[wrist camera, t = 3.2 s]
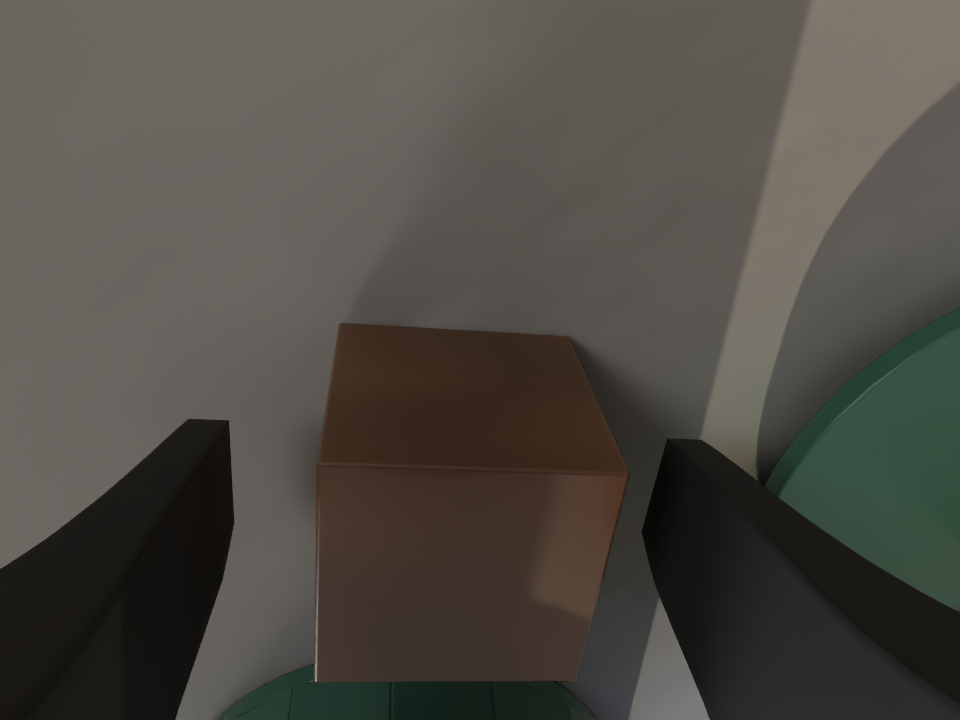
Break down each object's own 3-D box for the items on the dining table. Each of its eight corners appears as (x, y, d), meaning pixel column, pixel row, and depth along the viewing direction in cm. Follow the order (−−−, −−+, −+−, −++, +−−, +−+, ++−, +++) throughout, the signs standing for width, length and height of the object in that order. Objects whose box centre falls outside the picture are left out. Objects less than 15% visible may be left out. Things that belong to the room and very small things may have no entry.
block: (569, 335, 13) (631, 474, 10) (536, 513, 15) (577, 683, 12) (339, 321, 13) (316, 462, 9) (333, 507, 15) (313, 684, 11)
